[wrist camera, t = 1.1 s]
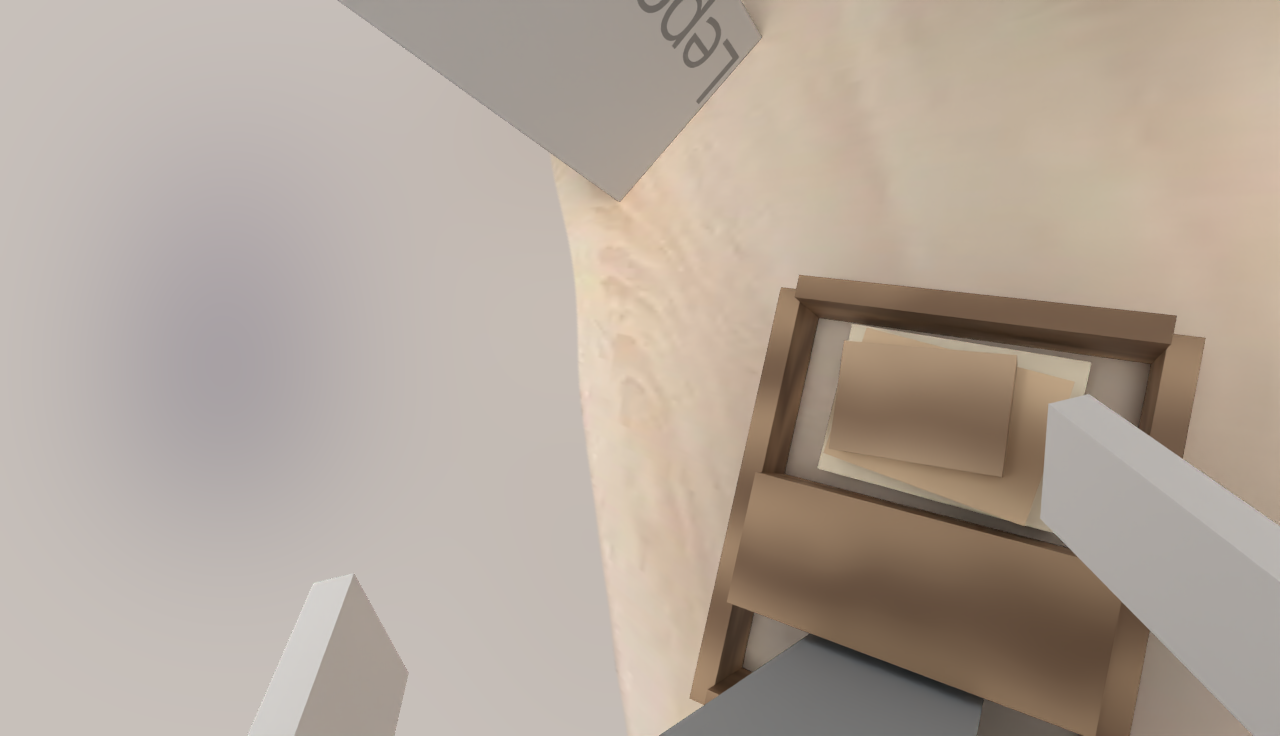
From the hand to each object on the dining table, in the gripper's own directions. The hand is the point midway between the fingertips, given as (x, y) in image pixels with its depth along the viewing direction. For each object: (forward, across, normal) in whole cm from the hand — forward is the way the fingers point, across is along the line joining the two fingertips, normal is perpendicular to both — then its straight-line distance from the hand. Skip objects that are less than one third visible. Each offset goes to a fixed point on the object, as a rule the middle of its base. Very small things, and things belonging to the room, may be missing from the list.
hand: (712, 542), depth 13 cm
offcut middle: (+17, +14, -12) cm, 25 cm away
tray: (+17, +12, -18) cm, 27 cm away
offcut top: (+16, +12, -10) cm, 22 cm away
